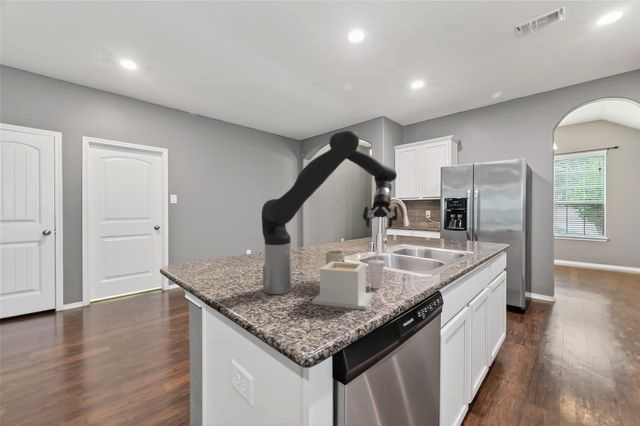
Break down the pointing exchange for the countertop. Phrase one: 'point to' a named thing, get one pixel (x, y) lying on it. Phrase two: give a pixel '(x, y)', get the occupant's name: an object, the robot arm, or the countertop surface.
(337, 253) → the character mug
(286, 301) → the countertop surface
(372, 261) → the smoothie
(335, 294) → the white open box
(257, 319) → the countertop surface
